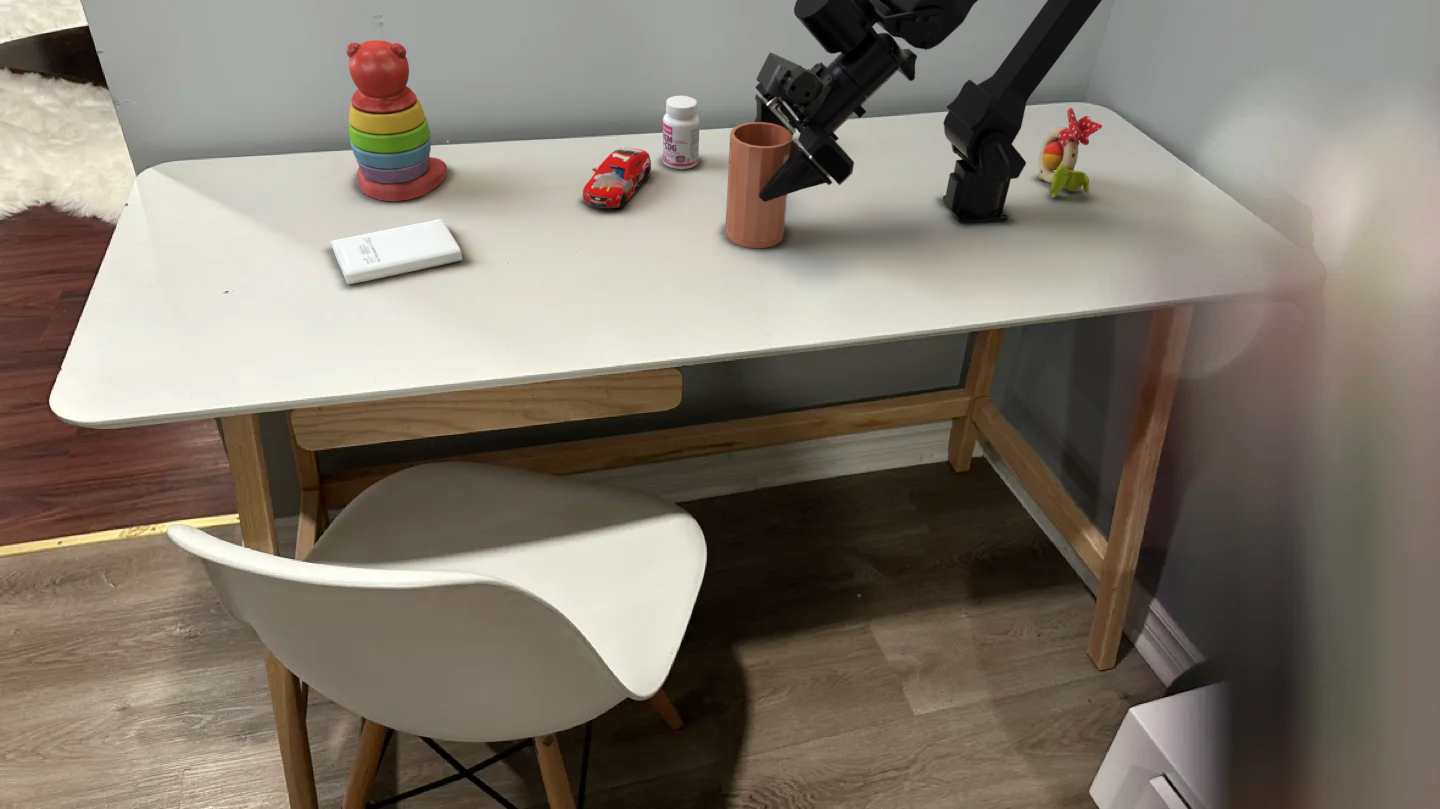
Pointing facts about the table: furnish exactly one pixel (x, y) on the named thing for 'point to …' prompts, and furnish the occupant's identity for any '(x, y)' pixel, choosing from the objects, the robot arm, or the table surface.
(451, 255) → the hard drive
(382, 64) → the stacking bear
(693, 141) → the pill bottle
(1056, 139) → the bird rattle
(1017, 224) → the table surface
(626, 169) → the race car
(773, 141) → the pencil cup
